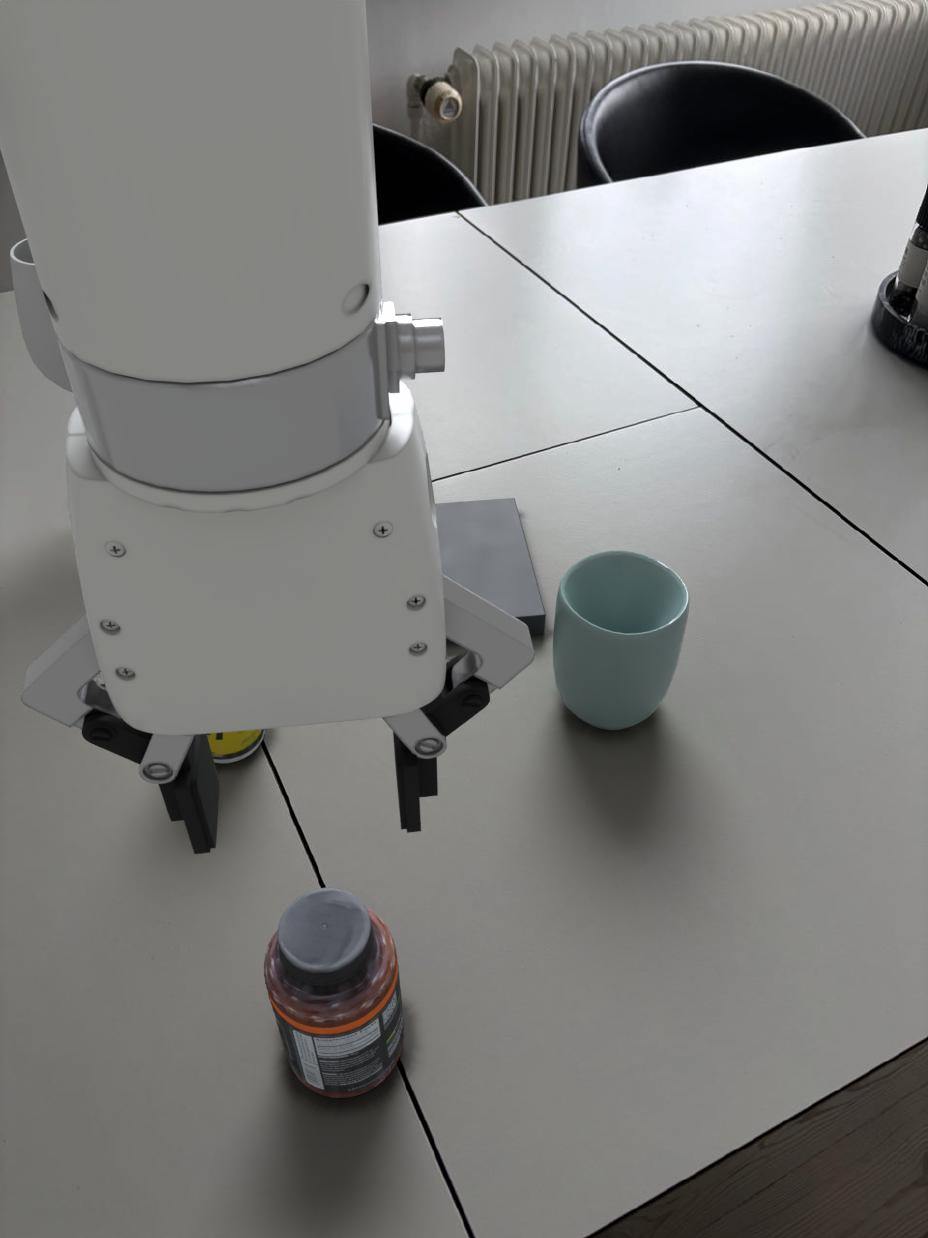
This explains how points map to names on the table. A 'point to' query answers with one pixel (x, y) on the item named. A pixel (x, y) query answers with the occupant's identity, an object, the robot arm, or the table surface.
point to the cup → (617, 637)
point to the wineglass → (36, 317)
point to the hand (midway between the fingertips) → (308, 807)
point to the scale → (491, 556)
